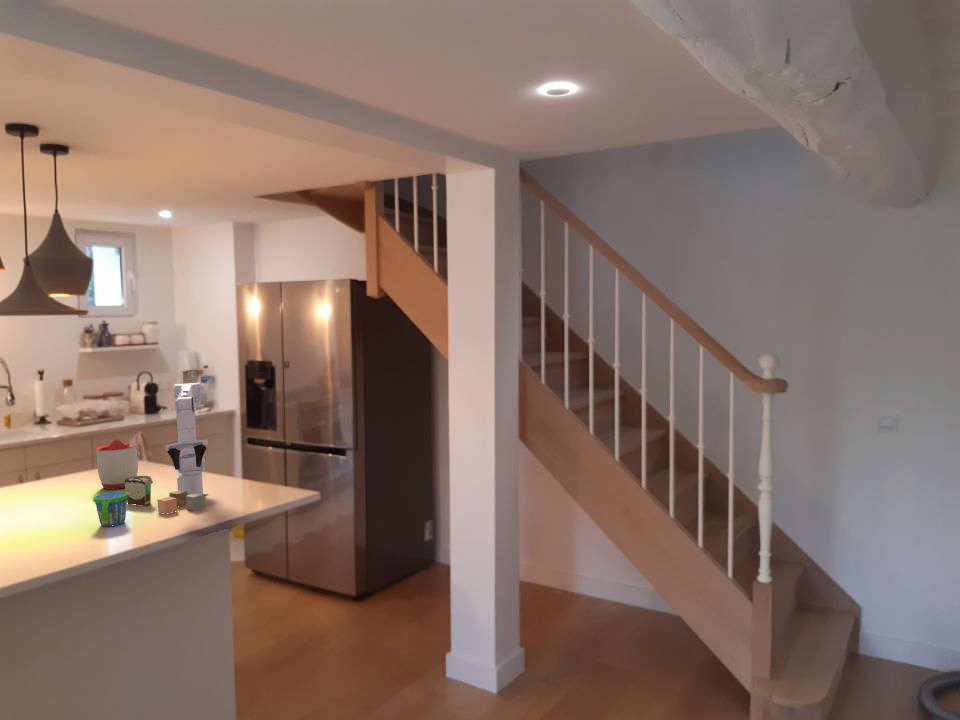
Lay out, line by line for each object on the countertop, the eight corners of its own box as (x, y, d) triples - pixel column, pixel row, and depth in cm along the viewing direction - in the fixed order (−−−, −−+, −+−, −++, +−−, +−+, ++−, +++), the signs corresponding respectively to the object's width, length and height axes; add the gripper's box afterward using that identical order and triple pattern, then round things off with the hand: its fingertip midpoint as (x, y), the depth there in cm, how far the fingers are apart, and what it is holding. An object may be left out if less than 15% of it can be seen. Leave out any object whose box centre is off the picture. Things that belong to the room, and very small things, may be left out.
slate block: (186, 509, 266) (185, 496, 266) (197, 506, 270) (196, 493, 269) (194, 511, 263) (193, 497, 263) (205, 508, 267) (204, 494, 267)
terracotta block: (158, 513, 262) (157, 499, 262) (169, 510, 266) (168, 496, 265) (165, 514, 260) (164, 501, 259) (177, 511, 263) (176, 498, 263)
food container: (161, 502, 276) (159, 476, 276) (148, 506, 271) (146, 480, 270) (138, 499, 282) (136, 474, 281) (124, 504, 276) (122, 477, 275)
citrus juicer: (151, 483, 309) (148, 436, 307) (112, 492, 294) (108, 443, 292) (129, 479, 317) (126, 433, 315) (90, 488, 302) (86, 440, 301)
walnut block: (170, 506, 271) (169, 492, 271) (180, 503, 275) (180, 490, 275) (177, 507, 269) (176, 494, 269) (188, 504, 273) (187, 491, 272)
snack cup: (119, 530, 243) (117, 500, 242) (86, 531, 242) (84, 501, 241) (137, 516, 258) (135, 488, 257) (106, 518, 257) (104, 489, 256)
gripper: (161, 431, 258) (162, 470, 255) (201, 426, 258) (203, 464, 255) (170, 433, 265) (171, 471, 262) (209, 428, 265) (211, 466, 262)
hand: (187, 468), depth 259 cm, fingers open, 7 cm apart
